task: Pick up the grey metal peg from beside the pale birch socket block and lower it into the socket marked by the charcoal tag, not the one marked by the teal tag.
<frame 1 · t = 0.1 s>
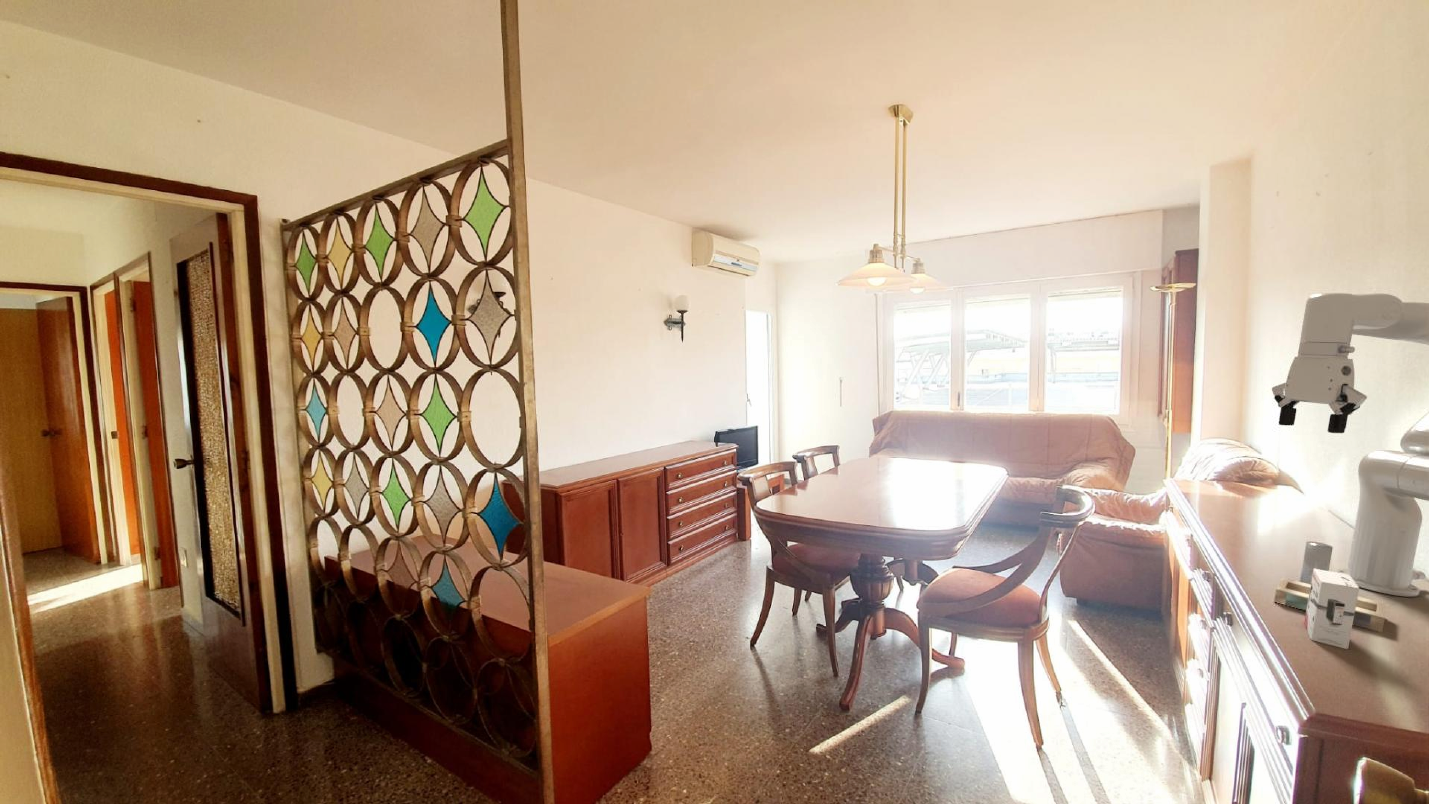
hand: (1310, 428, 124), 37 cm above the sideboard, tool pointing down, fingers open, 9 cm apart
socket block: (1327, 609, 118), on the sideboard
peg: (1311, 591, 126), on the sideboard
ink box: (1324, 637, 107), on the sideboard
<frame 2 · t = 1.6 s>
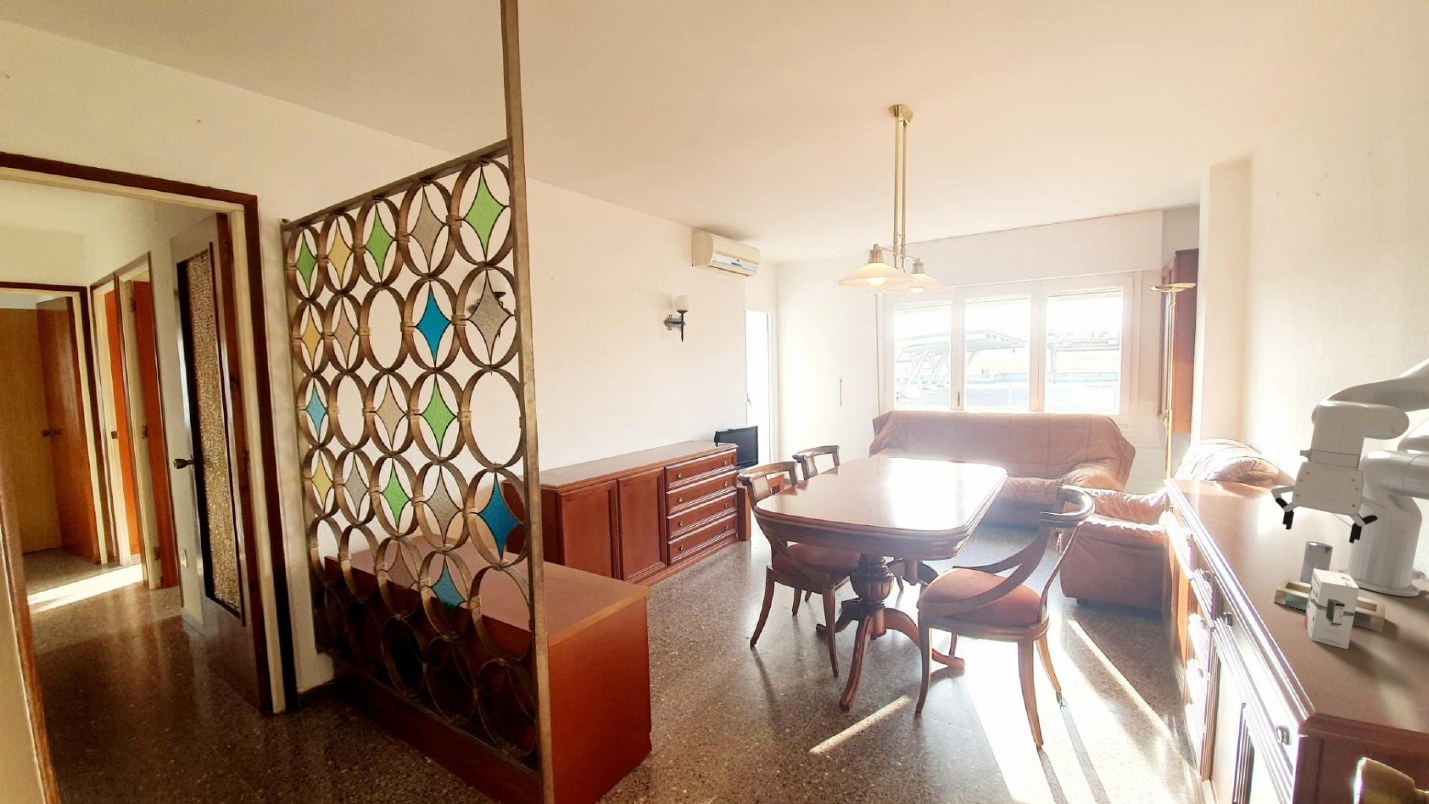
hand: (1319, 535, 124), 13 cm above the sideboard, tool pointing down, fingers open, 9 cm apart
nothing on the sideboard moved.
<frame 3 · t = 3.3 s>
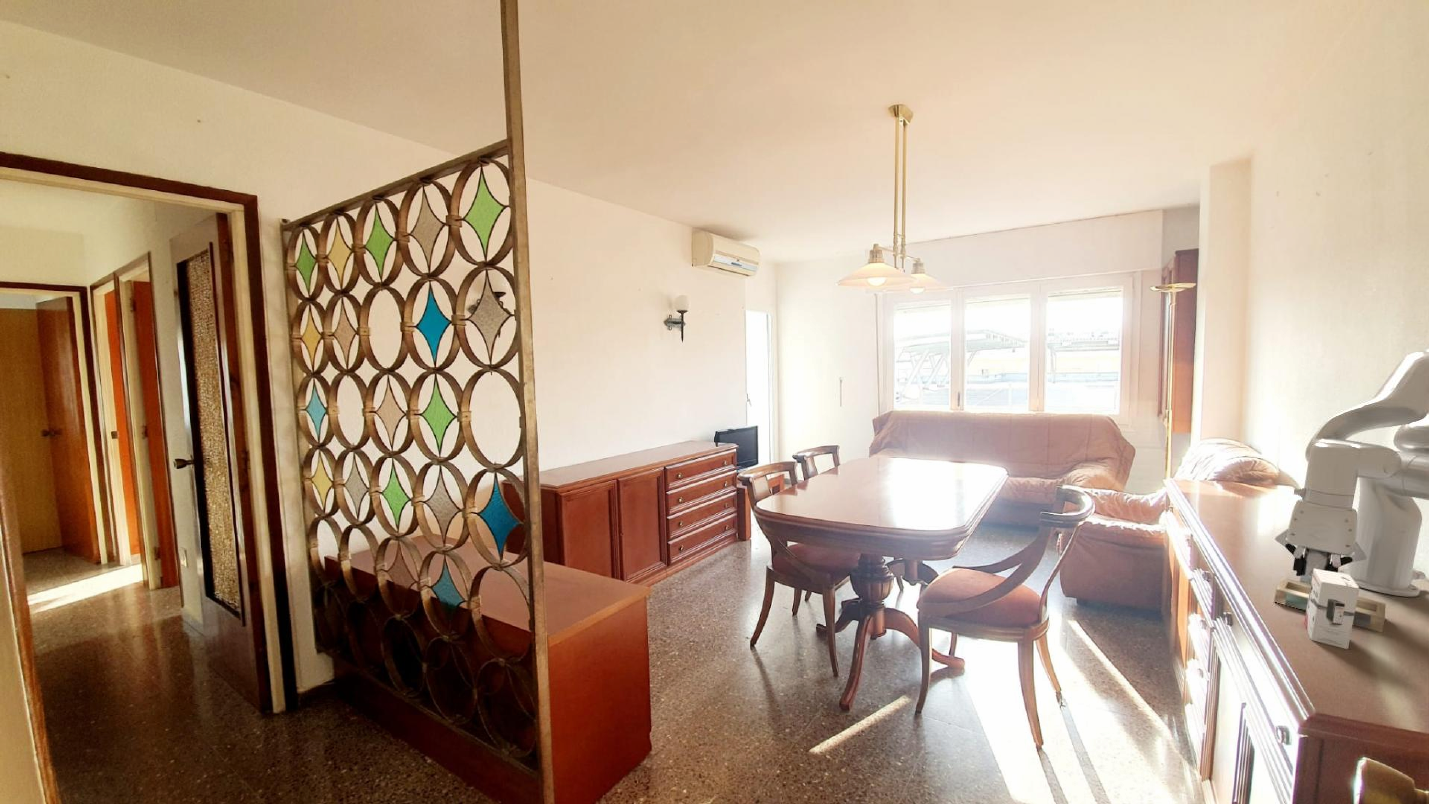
hand: (1313, 577, 126), 3 cm above the sideboard, tool pointing down, fingers closed on peg, 4 cm apart
peg: (1311, 591, 126), on the sideboard, touching gripper
everything else where it was.
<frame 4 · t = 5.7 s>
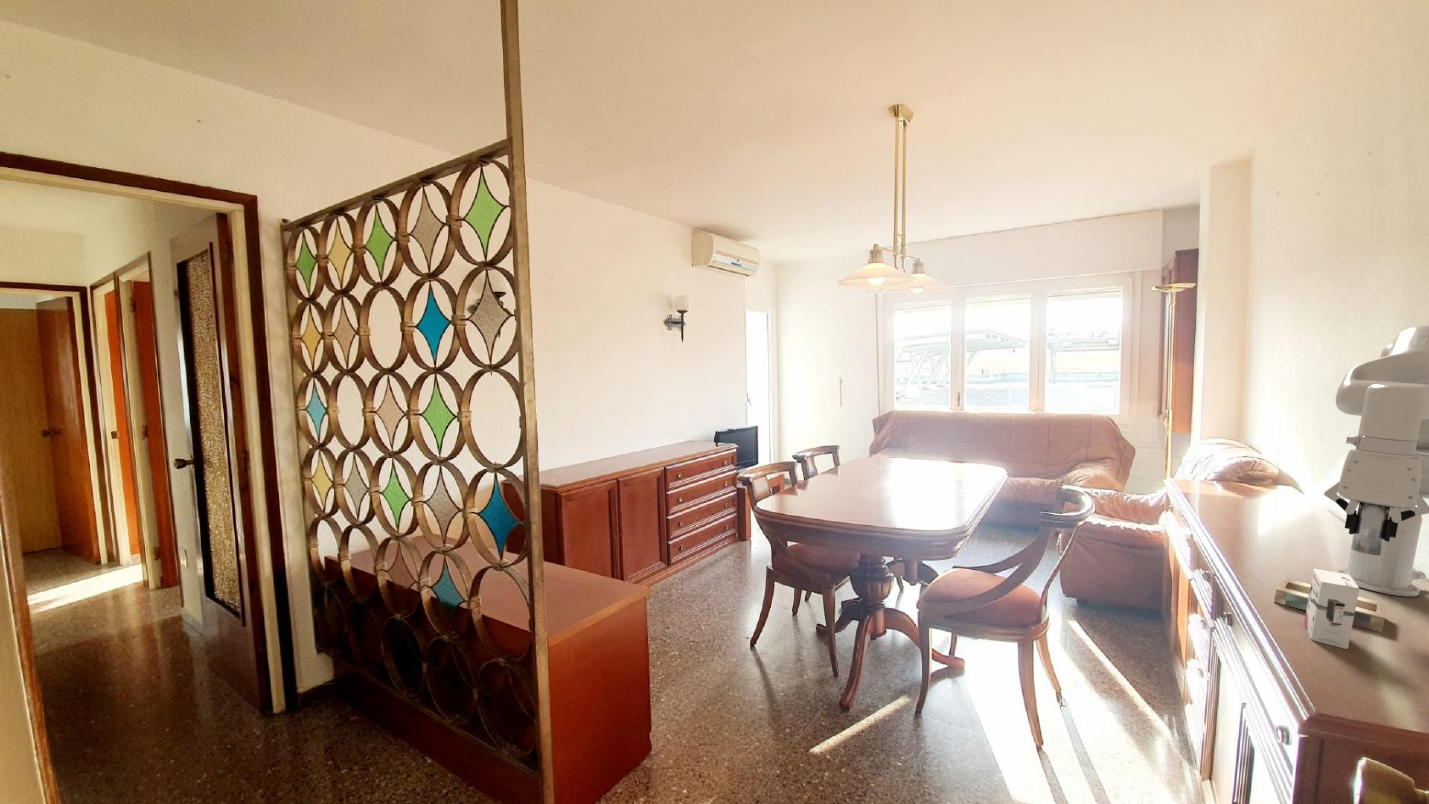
hand: (1368, 535, 113), 17 cm above the sideboard, tool pointing down, fingers closed on peg, 4 cm apart
peg: (1366, 551, 113), point 14 cm above the sideboard, touching gripper
everything else where it was.
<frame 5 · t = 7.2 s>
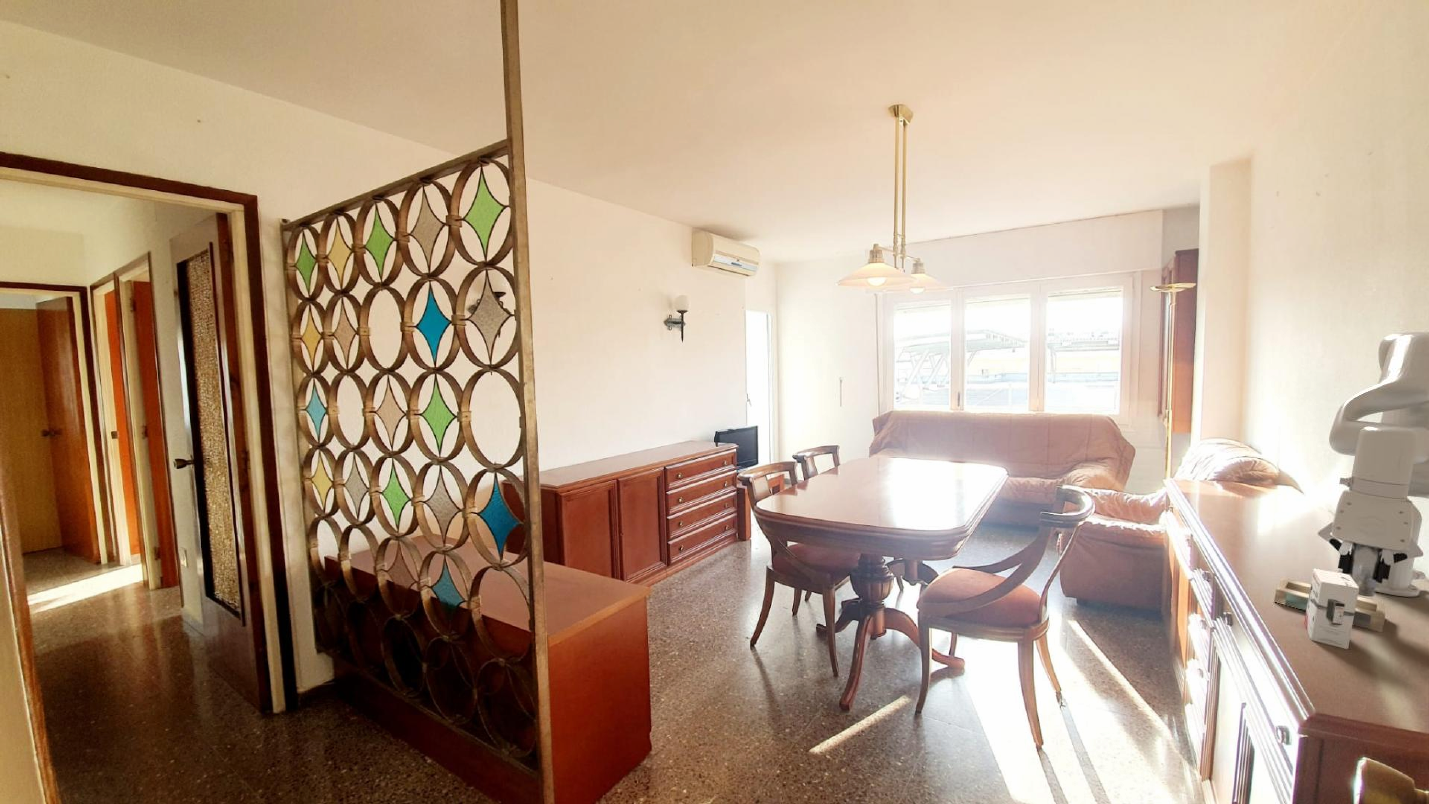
hand: (1361, 576, 113), 9 cm above the sideboard, tool pointing down, fingers closed on peg, 4 cm apart
peg: (1359, 592, 114), point 6 cm above the sideboard, touching gripper
everything else where it was.
when the fingers open (4 cm above the sideboard, at t = 8.4 s): peg drops 1 cm, resting in socket block.
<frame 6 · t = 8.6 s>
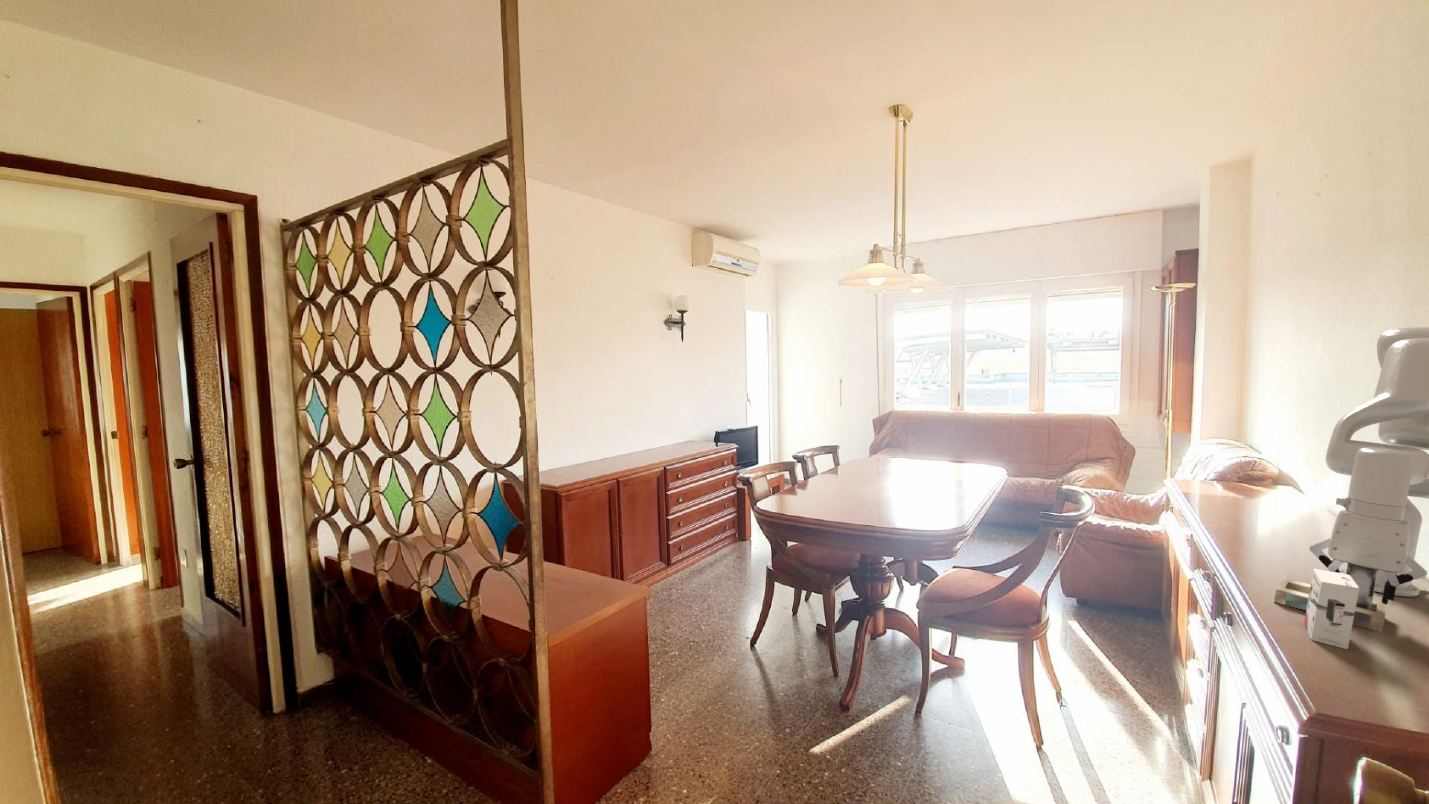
hand: (1358, 594, 114), 5 cm above the sideboard, tool pointing down, fingers open, 6 cm apart
peg: (1354, 617, 115), resting in socket block
everything else where it was.
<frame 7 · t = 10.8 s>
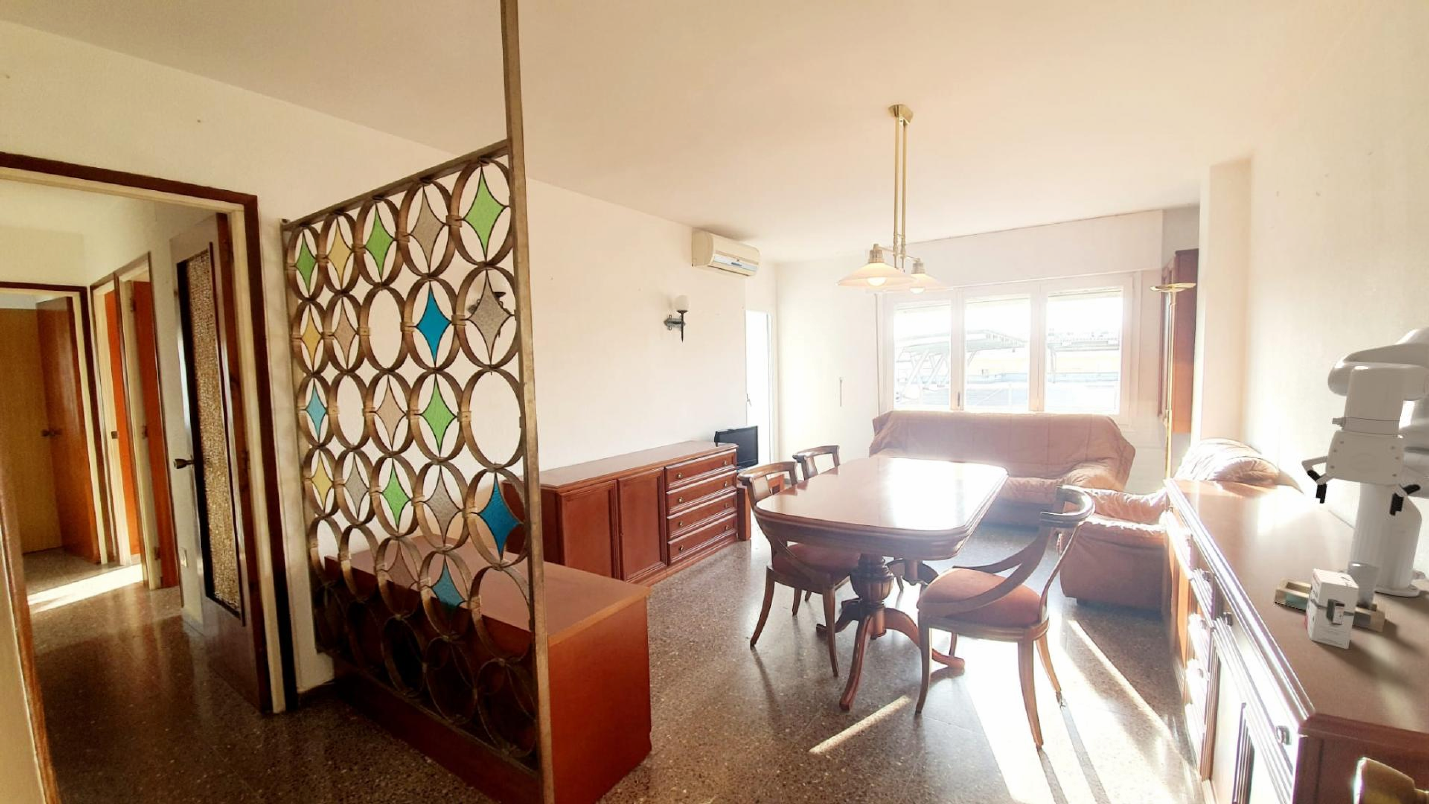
hand: (1356, 508, 116), 22 cm above the sideboard, tool pointing down, fingers open, 9 cm apart
nothing on the sideboard moved.
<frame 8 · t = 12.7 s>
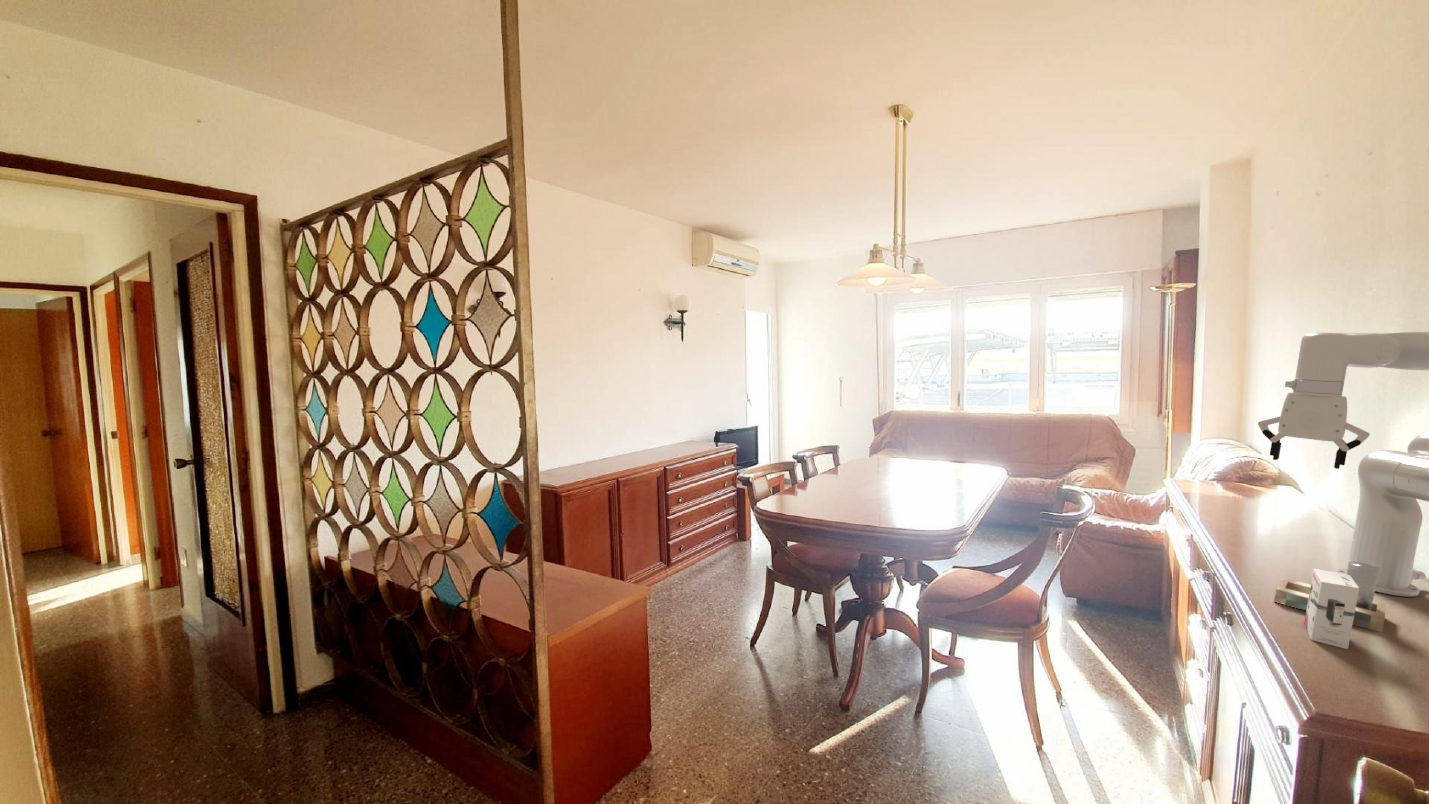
hand: (1305, 463, 127), 28 cm above the sideboard, tool pointing down, fingers open, 9 cm apart
nothing on the sideboard moved.
at the end: peg 0.1 cm from the target spot on the socket block, point 0.0 cm above the socket block's base; peg tilted 0°; the gripper is holding nothing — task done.
